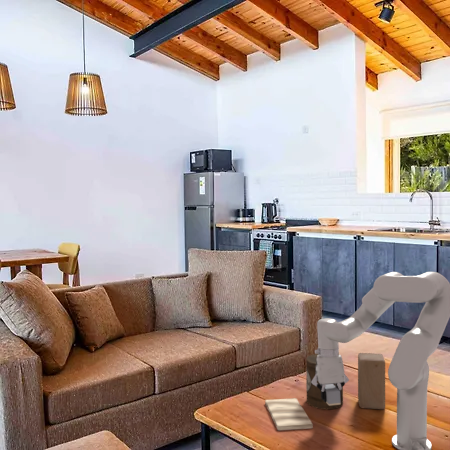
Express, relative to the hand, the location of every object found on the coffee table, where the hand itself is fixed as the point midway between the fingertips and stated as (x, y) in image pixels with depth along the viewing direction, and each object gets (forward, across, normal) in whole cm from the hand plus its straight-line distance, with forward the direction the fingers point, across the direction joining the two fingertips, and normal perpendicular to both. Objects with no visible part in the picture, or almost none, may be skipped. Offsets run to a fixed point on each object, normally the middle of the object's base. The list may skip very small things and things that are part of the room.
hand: (331, 399), depth 187 cm
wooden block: (+9, +21, +13) cm, 26 cm away
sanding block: (+1, 0, 0) cm, 1 cm away
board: (+8, -15, +8) cm, 19 cm away
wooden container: (+8, +3, +18) cm, 20 cm away
